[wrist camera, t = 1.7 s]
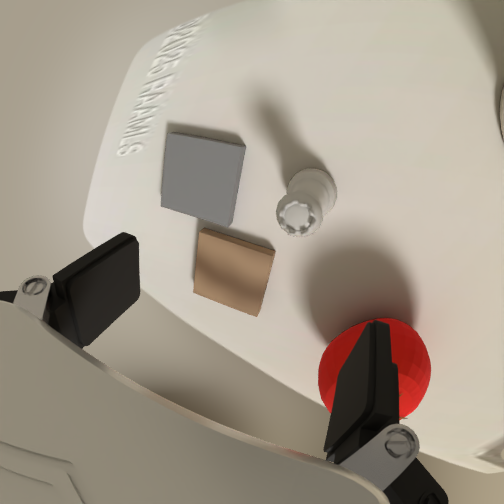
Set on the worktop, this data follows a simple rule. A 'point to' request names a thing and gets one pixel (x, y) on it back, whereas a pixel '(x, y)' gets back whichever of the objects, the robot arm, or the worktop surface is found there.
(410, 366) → the tomato
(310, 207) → the rook chess piece
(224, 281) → the walnut coaster
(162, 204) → the charcoal coaster
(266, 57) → the worktop surface
